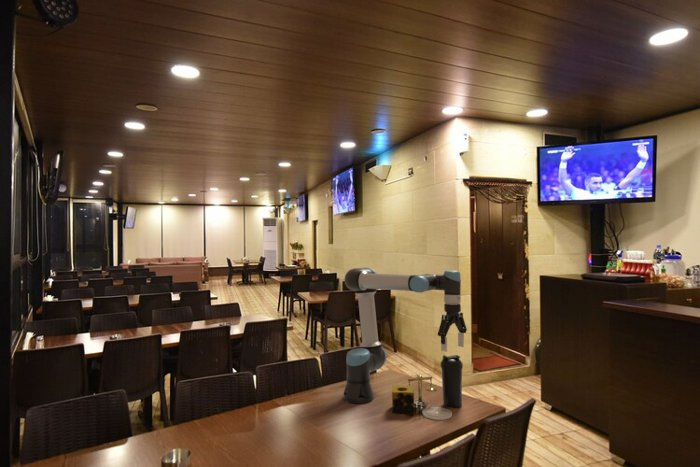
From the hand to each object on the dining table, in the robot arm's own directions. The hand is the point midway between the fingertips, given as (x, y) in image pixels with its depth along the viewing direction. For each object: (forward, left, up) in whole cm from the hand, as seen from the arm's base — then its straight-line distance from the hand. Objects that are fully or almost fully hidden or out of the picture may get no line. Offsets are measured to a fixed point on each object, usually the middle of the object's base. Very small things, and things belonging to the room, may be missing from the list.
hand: (452, 348), depth 196 cm
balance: (-15, -4, -27) cm, 31 cm away
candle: (-19, -15, -27) cm, 37 cm away
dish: (-4, -12, -27) cm, 30 cm away
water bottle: (-1, +2, -27) cm, 27 cm away
